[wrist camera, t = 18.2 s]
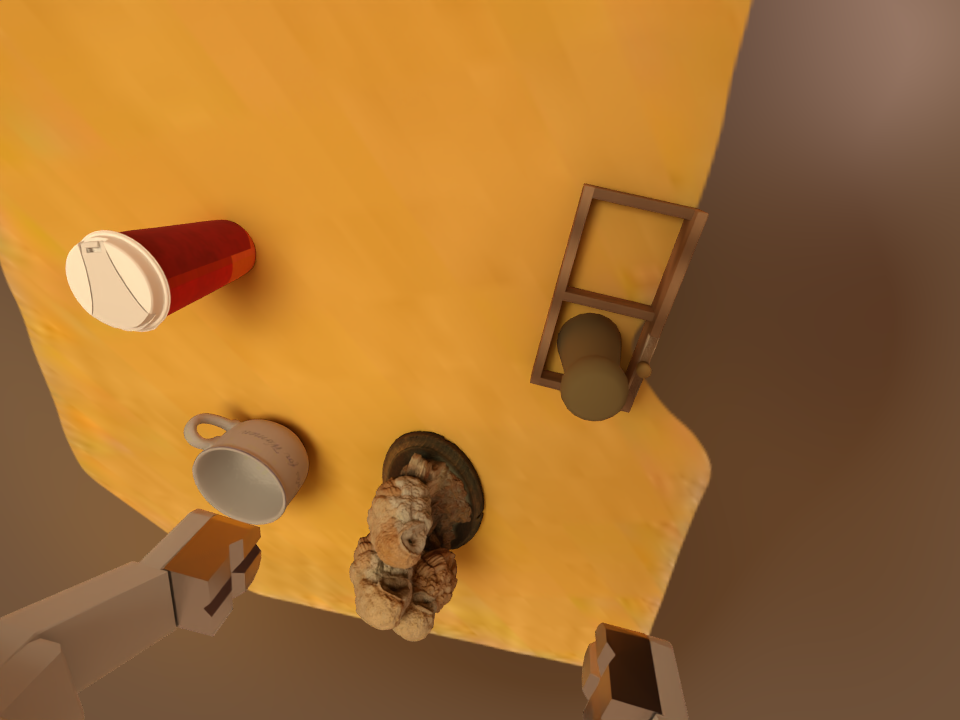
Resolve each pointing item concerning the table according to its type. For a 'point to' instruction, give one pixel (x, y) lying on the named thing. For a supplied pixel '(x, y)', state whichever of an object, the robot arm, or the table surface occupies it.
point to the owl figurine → (415, 534)
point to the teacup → (248, 467)
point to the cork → (592, 367)
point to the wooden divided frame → (651, 314)
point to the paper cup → (155, 270)
